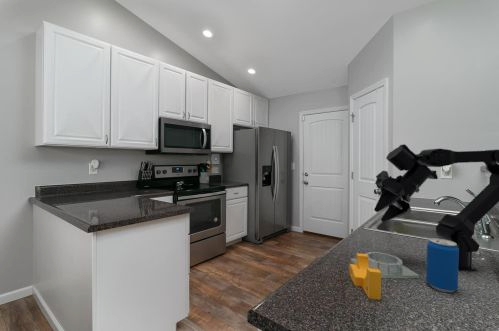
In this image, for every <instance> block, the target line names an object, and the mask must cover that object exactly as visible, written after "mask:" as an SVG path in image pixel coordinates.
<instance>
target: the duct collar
mask: <svg viewBox="0 0 499 331" xmlns="http://www.w3.org/2000/svg"><path fill="white" fill-rule="evenodd" d="M364 254H367V256H368V262H369V268H371V269H379V270H380V272H381V279H420V276H421V275H420V274H418V273H416V272H415V271H413V270H411V269H410V268H408V267H407V266H405V265H403V260H402V259H401V258H399V257H397V256H396V255H393V254H389V253H385V252H381V251H369V252H366V253H364ZM350 262H351V263H352V264H356V257H354V258H350Z"/></svg>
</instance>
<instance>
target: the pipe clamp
mask: <svg viewBox="0 0 499 331" xmlns="http://www.w3.org/2000/svg"><path fill="white" fill-rule="evenodd" d="M355 258H356V264H354V263H349V277H350V279H351V281H352V283H353V284H354V286H355V287H361V288H362V289H363V290H364V292H365V294H366V296H367V298H368V299H371V300H372V299H373V300H379V301H380V300H381V299H382V298H381V297H382V295H381V294H382V278H381V272H380V270H379V269H371V268H369V262H368V256H367V254H365V253H356V256H355Z"/></svg>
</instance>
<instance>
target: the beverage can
mask: <svg viewBox="0 0 499 331" xmlns="http://www.w3.org/2000/svg"><path fill="white" fill-rule="evenodd" d="M456 245H457V244H456V243H455V242H452V241H449V240H444V239H440V238H435V237H434V238H433V237H432V238H429V241H428V242H427V244H426V269H425V270H426V271H425V272H426V273H425V275H426V276H425V278H426V279H425V281H426V283H427V284H428V285H429V286H430V287H431V288H433V289H435V290H437V291H439V292H443V293H454V292H455V291H458V289H459V270H458V266H459V248H458V247H457V246H456Z"/></svg>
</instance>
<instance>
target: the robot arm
mask: <svg viewBox="0 0 499 331" xmlns="http://www.w3.org/2000/svg"><path fill="white" fill-rule="evenodd" d="M386 160H387V161H388V162H389V163H390V164H392V165H393V166H394V167H395V168H396V169H398V170H399V171H400V172H401V171H406V172H405V173H403V175H401V174H400V175H398V176H396V177H395V178H394V177H392V176H391V175H390V176H389V172H388V170H381V172H379V173H378V174H377V175H376V176H375V177H376V180H375V183H374V184H375V185H376V188H377V189H380V192H381V194H380V197H379V198H378V200H377V203H376V205H375V207H374V212H376V213H379V212H381V211H383V210H384V209H386V208H387V210H386V211H385V212H384V214H383V215H382V217H381V218H380V221H381V222H383V223H385V222H388V221H390V220H393V219H395V218H396V219H397V218H399V217H402V216H406V215H407V216H409V214H410V213H412V208H411V205H410V204H411V203H410V202H411V200H412V199H411V197H412V196H413V195H414V194H415V193H416V194H418V193H419V192H420V188H421V186H422V185H423V184H424V183H425V182H426V181H427V180H428V179H429V180H431V179H432V180H437V179H438V174H437V170H432V169H431V168H441V167H442V168H443V167H446V166H451V165H454V164H460V163H466V164H468V163H484V164H485V167H486V170H487V172H489V173H490V175H489V182H488V184H487V185H486V186H485V187H484V188H483V189H482V190H481V191H480V192H479V193H478V194H477V195H475V197H474V198H473V199H472V200H471V201H469V203H468V204H467V205H466V206H465V207H463V209H462V210H461V211H459V212H458V213H457V214H456V215H451V214H448V213H447V214H445V215H443V217H442V218H441V220H439V221H437V225H436V227H435V232H436V236H438V239H444V240H449V241H452V242H455V243H456V244H457V245H456V246H457V247H458V248H459V266H458V271H477V268H476V267H474V266H472V257H473V253H476V252H478V250H479V248H480V244H479V243H478V242H477V241H476V240H475V239H474V238H473V236H474V234H475V230H476V228H475V226H476V224H478V223H479V222H480V221H481V219H483V218H484V217H485V216H486V215H487V214H488V213H489V212H491V210H492V209H493V208H494V207H495V206H496V205H497V204H499V149H497V148H496V149H485V150H467V151H466V150H465V151H463V150H462V151H461V150H460V151H458V150H457V151H456V150H452V149H446V148H430V149H429V148H428V149H423V150H421V151H420V153H417V154H416V153H414V152H413V151H412V150H411V149H410V148H409V147H408V146H407V144H405V143H404V144H400V145H399V146H398V147H396V148H394V149H393V150H392V151H389V153H388V154H387V155H386Z"/></svg>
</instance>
